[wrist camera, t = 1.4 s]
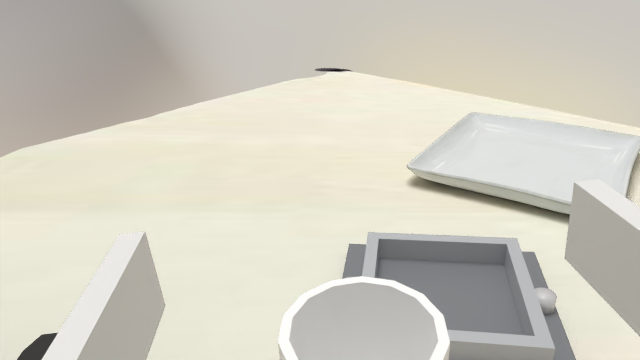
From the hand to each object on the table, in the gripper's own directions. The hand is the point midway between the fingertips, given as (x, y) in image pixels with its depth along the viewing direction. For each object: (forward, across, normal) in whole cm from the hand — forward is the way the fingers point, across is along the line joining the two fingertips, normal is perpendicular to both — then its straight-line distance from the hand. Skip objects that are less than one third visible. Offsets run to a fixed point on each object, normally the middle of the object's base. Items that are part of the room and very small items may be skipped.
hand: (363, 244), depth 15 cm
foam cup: (+9, 0, -24) cm, 26 cm away
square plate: (+53, +31, -24) cm, 66 cm away
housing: (+24, +10, -23) cm, 35 cm away
